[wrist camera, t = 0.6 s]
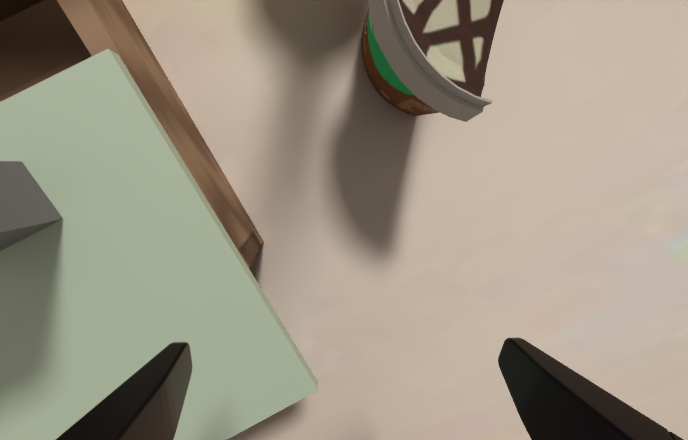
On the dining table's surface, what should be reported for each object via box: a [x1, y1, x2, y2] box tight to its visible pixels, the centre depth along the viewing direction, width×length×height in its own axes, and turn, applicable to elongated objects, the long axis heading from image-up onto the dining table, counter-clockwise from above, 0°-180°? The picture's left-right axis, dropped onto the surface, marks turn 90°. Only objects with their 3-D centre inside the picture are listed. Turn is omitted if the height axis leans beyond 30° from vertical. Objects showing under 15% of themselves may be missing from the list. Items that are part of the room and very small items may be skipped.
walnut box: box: [0, 0, 263, 268], centre depth 18 cm, size 20×16×6 cm
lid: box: [0, 49, 318, 440], centre depth 12 cm, size 20×16×9 cm
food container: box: [361, 0, 504, 122], centre depth 17 cm, size 12×6×10 cm, turn 170°
